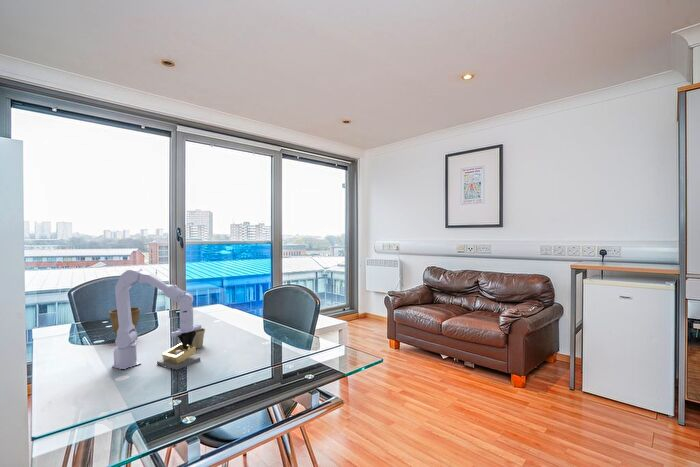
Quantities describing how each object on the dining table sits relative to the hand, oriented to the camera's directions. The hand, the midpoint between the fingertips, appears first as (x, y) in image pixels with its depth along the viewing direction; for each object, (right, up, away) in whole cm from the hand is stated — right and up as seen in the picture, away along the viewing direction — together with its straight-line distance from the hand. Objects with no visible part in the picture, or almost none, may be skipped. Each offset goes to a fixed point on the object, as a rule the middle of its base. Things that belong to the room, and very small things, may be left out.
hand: (187, 348), depth 162 cm
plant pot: (-54, -6, +37) cm, 66 cm away
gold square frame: (-2, -3, -3) cm, 5 cm away
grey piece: (-2, -6, -4) cm, 7 cm away
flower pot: (-4, -6, +18) cm, 19 cm away
